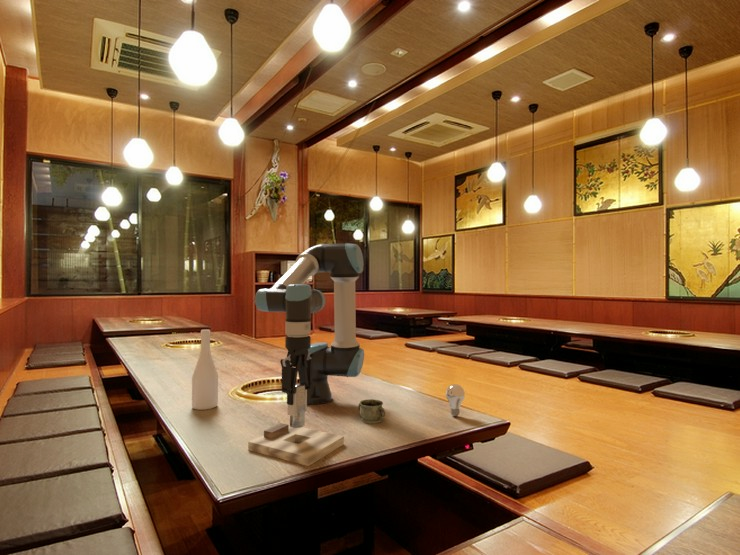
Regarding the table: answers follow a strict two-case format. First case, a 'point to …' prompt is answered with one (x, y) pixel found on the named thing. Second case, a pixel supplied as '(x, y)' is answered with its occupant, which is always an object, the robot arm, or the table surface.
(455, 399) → the light bulb
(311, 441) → the jig
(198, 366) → the wine bottle
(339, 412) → the table surface
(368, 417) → the vessel
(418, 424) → the table surface
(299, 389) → the shiny metal cylinder
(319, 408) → the table surface
